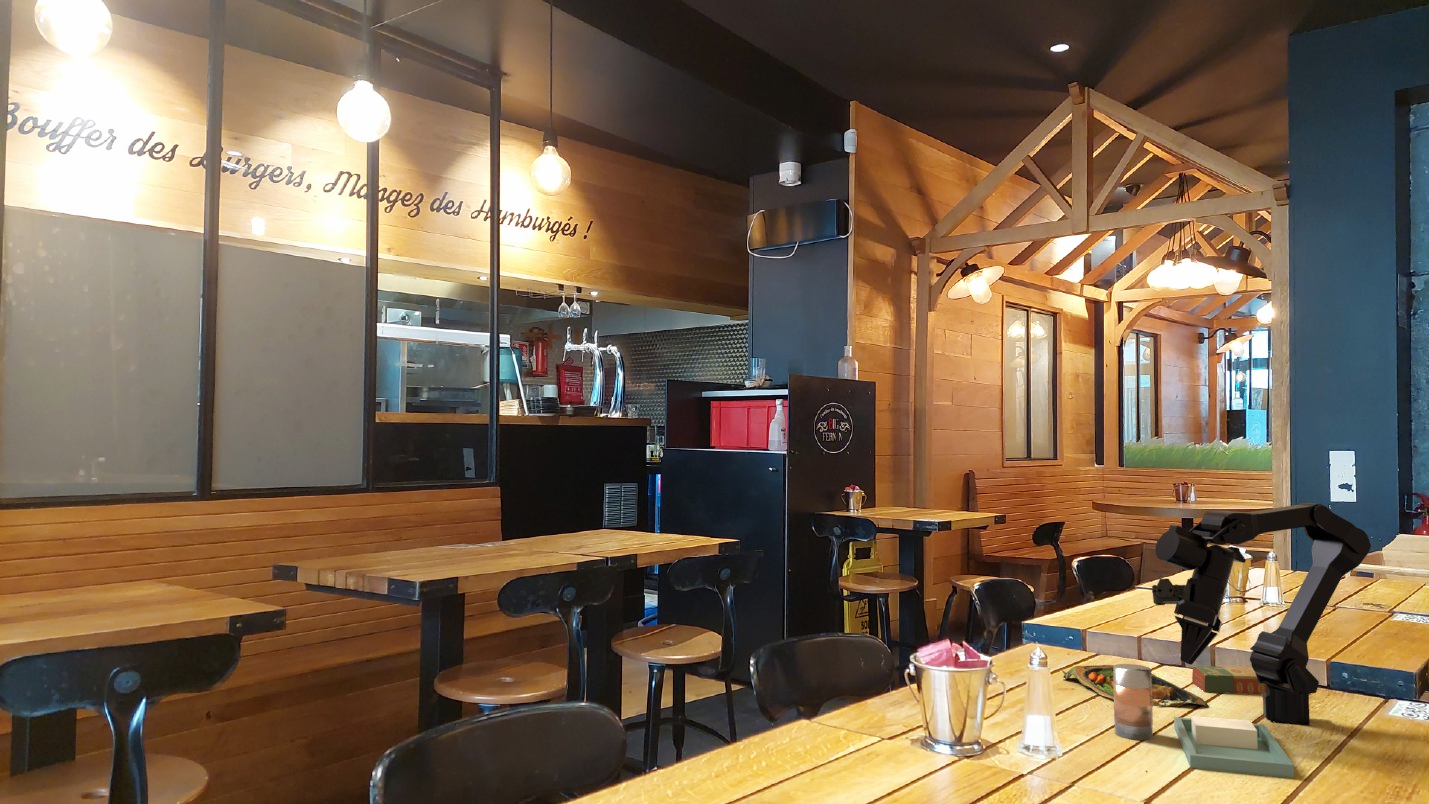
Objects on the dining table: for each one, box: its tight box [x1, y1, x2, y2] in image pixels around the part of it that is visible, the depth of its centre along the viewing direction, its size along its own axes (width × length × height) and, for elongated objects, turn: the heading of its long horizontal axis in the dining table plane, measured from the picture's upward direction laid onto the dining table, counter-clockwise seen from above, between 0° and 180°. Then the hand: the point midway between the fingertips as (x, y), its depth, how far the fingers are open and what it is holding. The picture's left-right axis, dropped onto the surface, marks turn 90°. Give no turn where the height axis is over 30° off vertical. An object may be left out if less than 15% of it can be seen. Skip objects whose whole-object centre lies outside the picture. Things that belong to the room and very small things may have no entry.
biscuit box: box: [1190, 715, 1258, 749], centre depth 161 cm, size 9×6×3 cm, turn 70°
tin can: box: [1113, 663, 1154, 741], centre depth 165 cm, size 6×6×12 cm
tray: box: [1173, 716, 1295, 779], centre depth 156 cm, size 14×22×2 cm, turn 160°
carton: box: [1191, 665, 1266, 696], centre depth 197 cm, size 8×16×4 cm, turn 79°
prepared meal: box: [1061, 664, 1210, 709], centre depth 196 cm, size 28×4×18 cm
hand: (1186, 662), depth 170 cm, fingers open, 9 cm apart
